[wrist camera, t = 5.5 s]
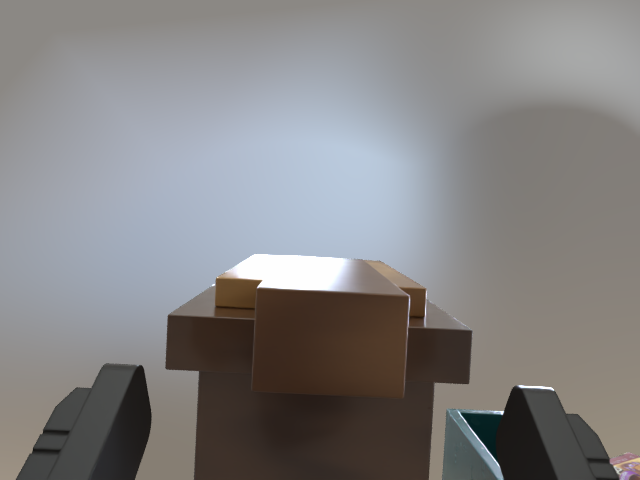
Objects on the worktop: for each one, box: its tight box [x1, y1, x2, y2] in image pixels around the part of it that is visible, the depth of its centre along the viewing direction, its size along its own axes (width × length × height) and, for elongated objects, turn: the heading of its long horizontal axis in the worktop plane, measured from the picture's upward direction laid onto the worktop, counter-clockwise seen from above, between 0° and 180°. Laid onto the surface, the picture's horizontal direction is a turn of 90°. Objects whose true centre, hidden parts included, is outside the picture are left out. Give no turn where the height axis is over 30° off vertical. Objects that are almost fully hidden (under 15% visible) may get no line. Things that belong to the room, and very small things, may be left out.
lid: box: [215, 254, 427, 399], centre depth 23 cm, size 8×24×2 cm, turn 1°
